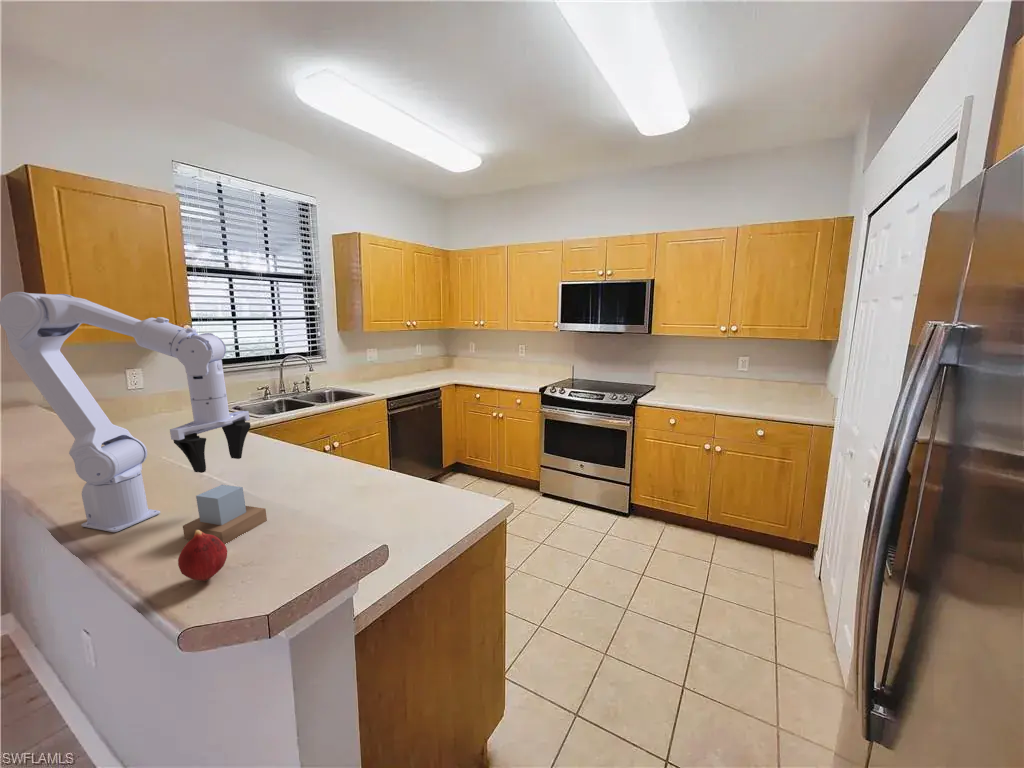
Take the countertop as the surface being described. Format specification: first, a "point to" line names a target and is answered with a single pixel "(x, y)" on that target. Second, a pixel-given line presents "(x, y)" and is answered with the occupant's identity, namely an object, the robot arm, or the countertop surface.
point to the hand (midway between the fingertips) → (219, 464)
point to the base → (228, 525)
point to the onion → (202, 556)
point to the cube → (221, 504)
